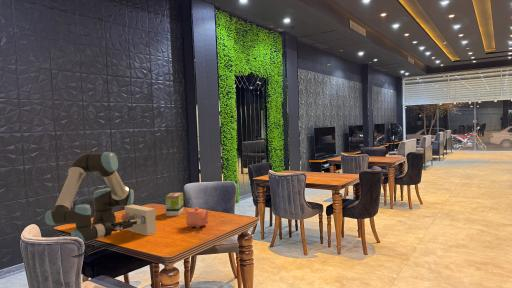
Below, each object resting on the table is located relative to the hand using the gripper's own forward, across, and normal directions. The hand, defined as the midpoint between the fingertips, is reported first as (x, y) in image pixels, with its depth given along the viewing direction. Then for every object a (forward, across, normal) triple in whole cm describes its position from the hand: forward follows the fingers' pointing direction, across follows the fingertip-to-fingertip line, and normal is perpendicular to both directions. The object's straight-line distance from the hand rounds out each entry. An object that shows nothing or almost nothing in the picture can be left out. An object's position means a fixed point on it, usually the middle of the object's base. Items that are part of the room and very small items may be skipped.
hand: (140, 220), depth 214 cm
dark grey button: (+1, 0, -2) cm, 2 cm away
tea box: (+47, -28, -9) cm, 55 cm away
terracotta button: (-1, -16, -2) cm, 16 cm away
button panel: (+5, -8, -9) cm, 13 cm away
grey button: (-1, -8, -2) cm, 9 cm away
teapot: (+32, +15, -9) cm, 36 cm away
